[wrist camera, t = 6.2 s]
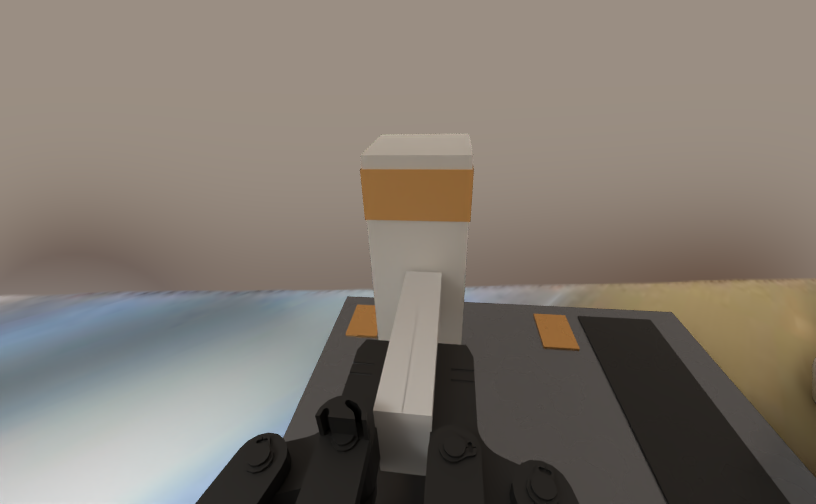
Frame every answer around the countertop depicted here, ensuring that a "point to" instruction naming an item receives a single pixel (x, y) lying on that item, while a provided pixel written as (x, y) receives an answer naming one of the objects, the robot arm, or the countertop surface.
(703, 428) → the panel
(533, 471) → the robot arm
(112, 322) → the countertop surface
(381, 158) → the handle
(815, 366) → the salt shaker
